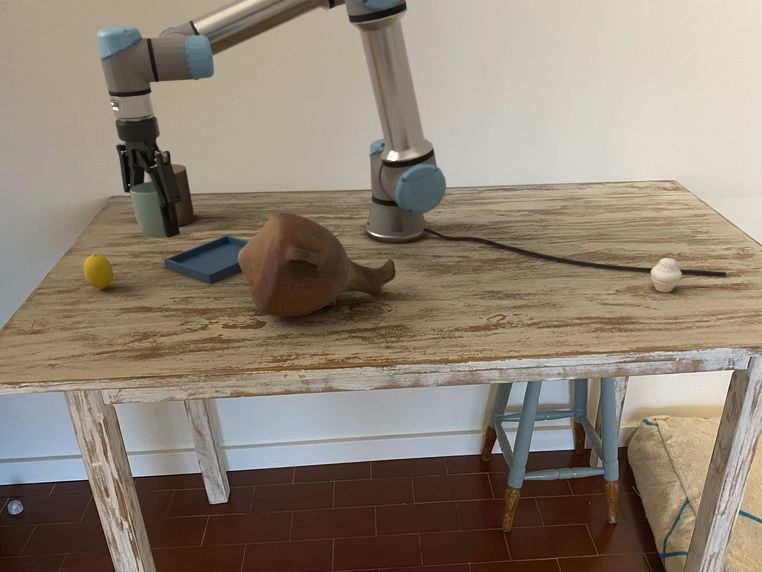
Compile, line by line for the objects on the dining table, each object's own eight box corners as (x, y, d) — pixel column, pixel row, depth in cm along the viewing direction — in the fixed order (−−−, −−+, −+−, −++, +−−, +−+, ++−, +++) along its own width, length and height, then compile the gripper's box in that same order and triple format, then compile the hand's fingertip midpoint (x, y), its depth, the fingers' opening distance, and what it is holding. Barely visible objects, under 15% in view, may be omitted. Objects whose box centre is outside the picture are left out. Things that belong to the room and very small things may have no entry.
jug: (235, 335, 132) (392, 341, 140) (240, 246, 119) (411, 258, 128) (235, 272, 147) (376, 281, 155) (239, 187, 134) (393, 201, 143)
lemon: (90, 297, 147) (80, 261, 143) (87, 286, 151) (78, 251, 147) (118, 291, 149) (109, 256, 145) (114, 281, 153) (106, 247, 149)
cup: (168, 242, 142) (158, 194, 137) (133, 240, 143) (121, 192, 138) (187, 229, 148) (177, 182, 143) (153, 227, 150) (142, 180, 145)
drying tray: (272, 256, 165) (271, 248, 164) (210, 283, 152) (209, 275, 151) (227, 242, 172) (226, 235, 171) (165, 267, 160) (164, 259, 159)
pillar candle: (202, 218, 188) (193, 162, 180) (173, 229, 180) (162, 171, 173) (177, 212, 192) (167, 156, 185) (148, 222, 185) (136, 165, 177)
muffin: (641, 285, 149) (647, 255, 146) (665, 281, 152) (670, 250, 148) (661, 297, 144) (667, 265, 141) (685, 292, 147) (691, 260, 143)
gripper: (85, 114, 136) (113, 227, 148) (153, 127, 126) (177, 247, 137) (119, 107, 142) (144, 216, 153) (187, 119, 131) (208, 235, 143)
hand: (159, 231), depth 145 cm, fingers closed on cup, 8 cm apart
